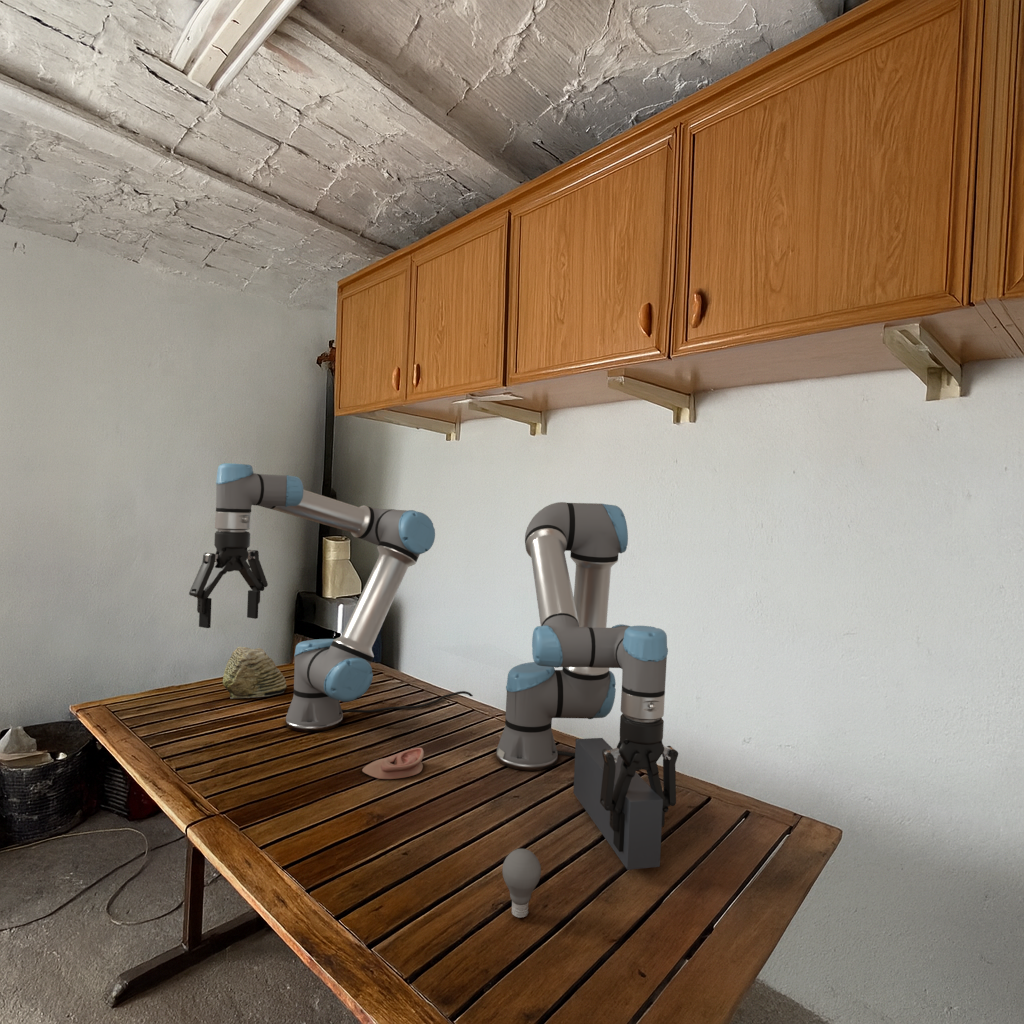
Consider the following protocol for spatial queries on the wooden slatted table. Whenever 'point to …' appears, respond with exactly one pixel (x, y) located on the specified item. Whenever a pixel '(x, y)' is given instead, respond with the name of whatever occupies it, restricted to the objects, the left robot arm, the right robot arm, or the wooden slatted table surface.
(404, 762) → the anatomical model
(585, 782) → the box
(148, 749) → the wooden slatted table surface
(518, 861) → the light bulb
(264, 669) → the fossil
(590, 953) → the wooden slatted table surface
